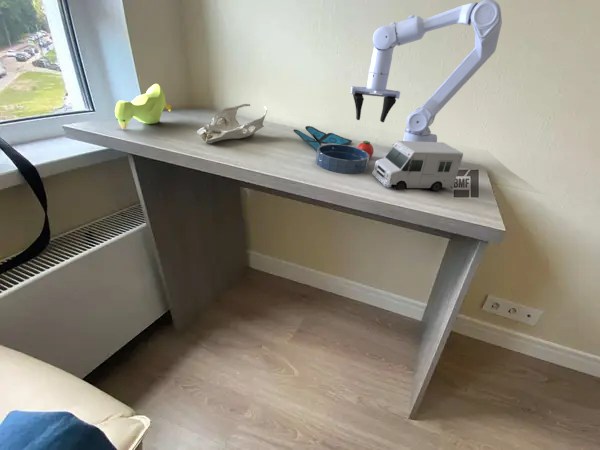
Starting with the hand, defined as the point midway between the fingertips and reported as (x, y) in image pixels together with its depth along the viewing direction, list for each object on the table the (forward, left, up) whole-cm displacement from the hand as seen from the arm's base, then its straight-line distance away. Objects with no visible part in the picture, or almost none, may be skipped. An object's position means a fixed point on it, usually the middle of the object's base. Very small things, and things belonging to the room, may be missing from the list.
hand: (369, 120), depth 113 cm
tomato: (+1, +10, -9) cm, 14 cm away
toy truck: (-11, +26, -10) cm, 30 cm away
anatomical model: (+42, +5, -10) cm, 43 cm away
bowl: (+7, +19, -9) cm, 22 cm away
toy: (+71, +4, -10) cm, 72 cm away
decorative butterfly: (+15, +1, -10) cm, 18 cm away
